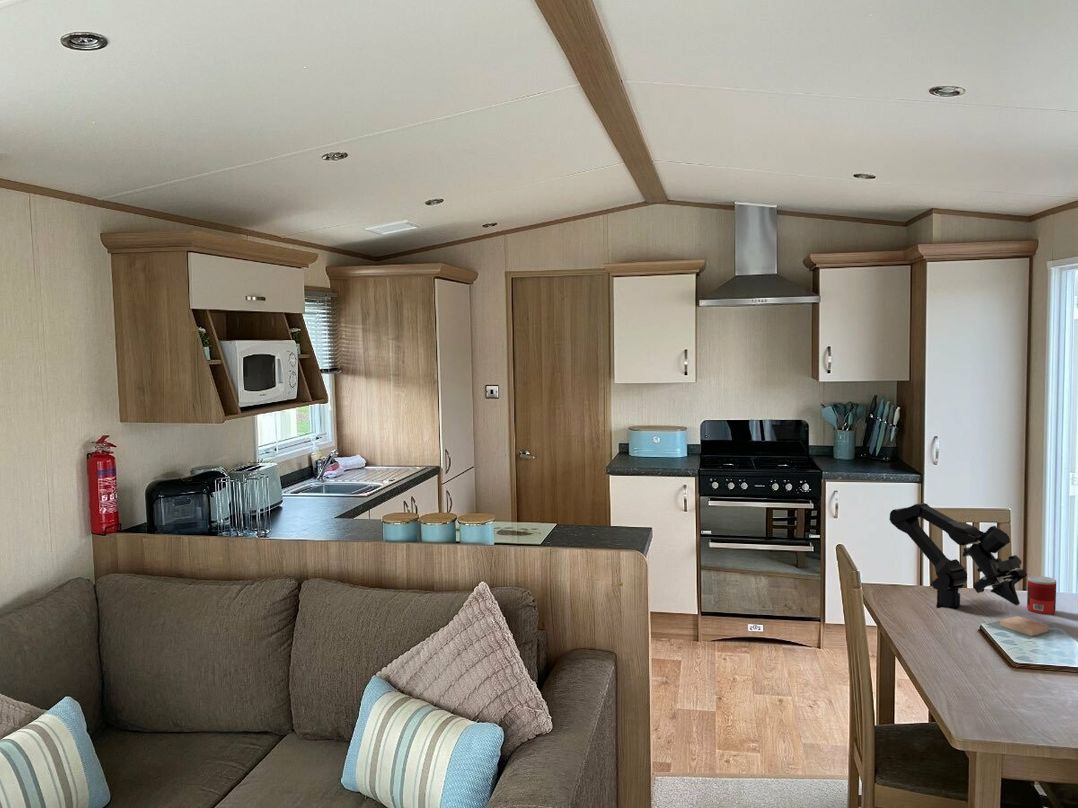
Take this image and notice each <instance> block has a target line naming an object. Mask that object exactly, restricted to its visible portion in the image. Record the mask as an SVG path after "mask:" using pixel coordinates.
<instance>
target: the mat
mask: <svg viewBox="0 0 1078 808" xmlns="http://www.w3.org/2000/svg"><path fill="white" fill-rule="evenodd" d="M985 625H986V626H989V627H991V628H995V629H997V630H1001V631H1003V632H1007V633H1010V634H1013V635H1016V636H1020V637H1023V638H1026V639H1032V638H1035V637H1040V636H1044V635H1046V634H1049V633H1053V632H1054V630H1051V629H1048V631H1047V632H1046V633H1042V634H1039V635H1035V636H1032V637H1031V636H1028V635H1025V634H1022V633H1019V632H1016V631H1013V630H1010V629H1007V628H1003V627H1001V626H1000V620H997V621H993V622H990V623H989V622H988V623H986V624H985Z"/></svg>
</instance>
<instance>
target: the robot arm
mask: <svg viewBox="0 0 1078 808" xmlns="http://www.w3.org/2000/svg"><path fill="white" fill-rule="evenodd" d="M919 518H920V519H922V520H925V521H926V522H928V523H930V524H932V525H934V526H935V527H936V528H938V529H940V530H942V531H944V532H945V533H946V534H947V535H948V536H949V538H950V539H951V540H952V541H954V543H955V544H957V545H959V546H961V547H962V546H967V545H971V546H970V547H964V548H963V552H962V557H963V558H965V557H971V559H972V560H973V562H974V563H975V564H976V566H977V569H976V571H977V572H978V573H983V574H982V575H984V576H982V577H981V578H979V579H978V580H977V581H976V582H975V583H973V589H974V590H975V592H976V593H977V594H979V593H983V592H985V588H987V587H990V586H991V588H992V589H990V591H989V592H990V593H994V594H995V595H997V596H999V597H1001V598H1003V599H1005V600H1006V601H1008V602H1010V603H1011V604H1012V605H1015V606H1019V605H1020V604H1021V602H1020V600H1019V597H1018V594H1017V590H1016V586H1015V585H1016V584H1017V583H1019V582H1020V581H1022V580H1023V579H1024V578H1025V577H1027V575H1028V573H1027V571H1025V569H1022V567H1021V565H1022V562H1023V561H1022V560H1021V559H1020V558H1019V556H1017V555H1016V554H1015V555H1011V556H1008V559H1007V560H1002V559H1001V558H999V557H998V558H996V557H995V555H994V554H997V553H998V552H1000V551H1001V550H1003V548H1005V547H1006V546H1007V545H1009V544H1010V542H1011V538H1010V536H1009V535H1008V533H1007V532H1005V531H1004V530H1002V529H999V528H998V527H997V526H996V525H991V526H990V527H988V528H987V529H986V531H985V532H984V531H982V530H979V528H978V527H977V526H974V525H971V524H968V523H967V522H962V521H961V522H960V521H957V520H954V519H953V518H951V517H950V516H948V515H946V514H944V513H943V512H941V511H939V510H937V509H936V508H934V507H931V506H930V505H928V504H927V503H925V502H922V503H921V502H920V503H915V504H913V505H911V506H908V507H901V508H895V509H894V508H893V509H892V510H891V511H890V512H889V518H888V519H889V521H890V523H891V524H892V525H893V527H896V529H898V530H899V531H900V532H903V533H904V534H907V535H908V537H909V538H910V539H911V540H912V542H914V543H915V545H916V546H917V547H918V549H919V550H920V551H921V553H923V554H924V555H925V557H926V559H928V560H929V562H930V563H931V564H932V565H933V566H934V570H935V575H936V578H935V579H934V580H933V581H932V582H931V585H932V588H933V589H934V590H936V603H935V604H936V606H935V607H936V608H937V609H941V608H943V609H951V610H959V608H960V607H961V593H960V592H959V589H963V587H964V585H965V584H966V583H967V581H968V572H967V571H966V568H965V567H964V566H963V565H962V564H961V563H960V561H959V560H958V559H957V558H956V559H949V558H948V557H947V556H946V555H945V554H944V553H943V552H942V550H941V549H940V548H939V546H937V545H936V543H935V542H934V541H933V539H932V538H931V537H929V535H928V533H926V532H925V530H924V529H923V528H922V527H921V525H920V521H919V520H920V519H919Z"/></svg>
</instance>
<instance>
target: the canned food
mask: <svg viewBox="0 0 1078 808" xmlns="http://www.w3.org/2000/svg"><path fill="white" fill-rule="evenodd" d="M1026 591H1027V592H1026V593H1027V594H1026V595H1027V597H1026V598H1027V599H1026V608H1027V610H1028V611H1029V612H1031V613H1034V614H1038V615H1039V614H1040V615H1051V616H1054V615H1055V614H1056V605H1057V580H1056V579H1055V578H1053V577H1049V576H1044V575H1031V576H1028V578H1027V590H1026Z"/></svg>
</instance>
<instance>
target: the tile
mask: <svg viewBox="0 0 1078 808" xmlns="http://www.w3.org/2000/svg"><path fill="white" fill-rule="evenodd" d="M999 621H1000V626H1001V627H1003V628H1007V629H1010V630H1013V631H1016V632H1019V633H1022V634H1025V635H1028V636H1031V637H1032V636H1035V635H1039V634H1042V633H1046V632H1047V631H1048V630H1050V629H1049V625H1048V624H1045V623H1040V622H1038V621H1034V620H1032V619H1028V618H1025V617H1021V616H1018V615H1016V616H1012V617H1009V618H1004V619H1001V620H999Z"/></svg>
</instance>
